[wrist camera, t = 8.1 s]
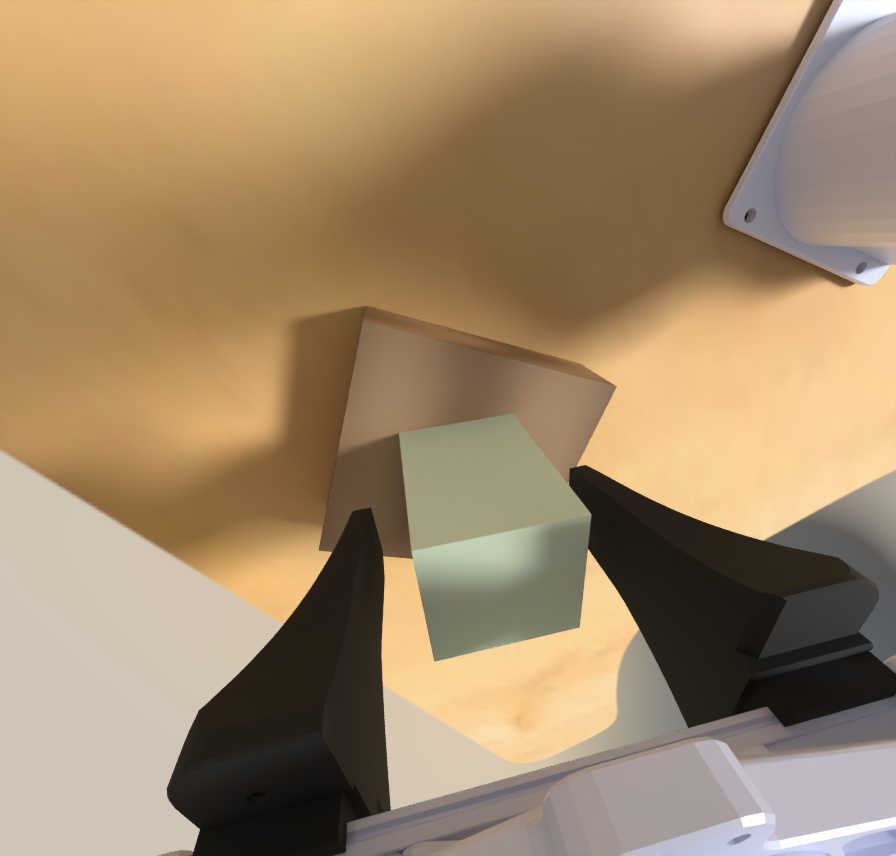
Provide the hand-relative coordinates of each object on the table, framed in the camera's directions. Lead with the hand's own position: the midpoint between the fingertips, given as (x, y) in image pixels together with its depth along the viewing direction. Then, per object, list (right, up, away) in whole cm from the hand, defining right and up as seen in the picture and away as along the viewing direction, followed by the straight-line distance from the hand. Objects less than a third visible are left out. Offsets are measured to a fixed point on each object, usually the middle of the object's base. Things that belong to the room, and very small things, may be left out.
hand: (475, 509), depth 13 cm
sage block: (0, +1, +2) cm, 2 cm away
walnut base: (-1, +2, +5) cm, 5 cm away
